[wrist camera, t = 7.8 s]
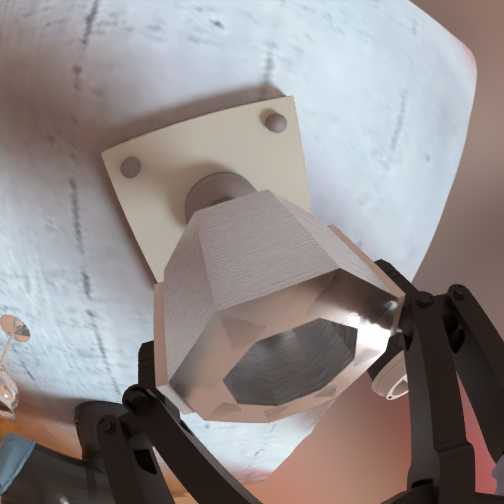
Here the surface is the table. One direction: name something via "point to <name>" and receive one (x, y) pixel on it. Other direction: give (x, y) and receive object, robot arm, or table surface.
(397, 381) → the coffee cup
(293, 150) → the shaft block
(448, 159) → the table surface
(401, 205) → the table surface
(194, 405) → the hub
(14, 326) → the wineglass
